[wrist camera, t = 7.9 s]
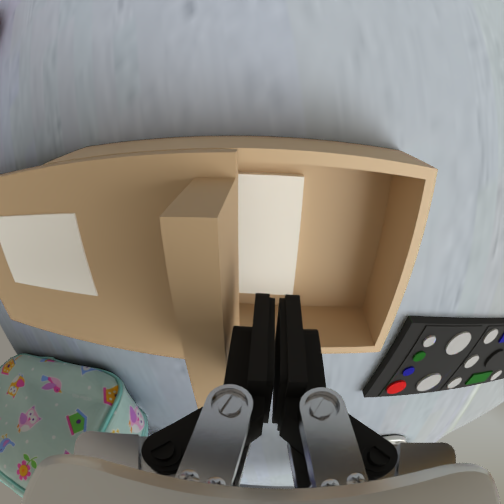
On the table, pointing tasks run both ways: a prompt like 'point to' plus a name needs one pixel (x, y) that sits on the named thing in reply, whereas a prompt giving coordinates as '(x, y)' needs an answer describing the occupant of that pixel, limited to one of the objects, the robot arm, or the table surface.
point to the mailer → (319, 228)
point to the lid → (128, 254)
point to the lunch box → (56, 412)
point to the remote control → (440, 356)
